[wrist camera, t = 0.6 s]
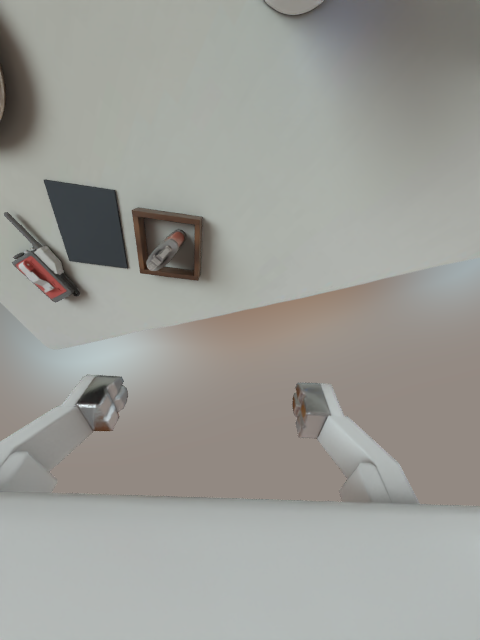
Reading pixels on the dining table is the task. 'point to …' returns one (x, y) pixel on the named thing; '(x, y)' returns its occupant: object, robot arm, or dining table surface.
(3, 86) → the plant saucer
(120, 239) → the mat
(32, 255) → the walkie-talkie
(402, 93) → the dining table surface
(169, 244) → the lighter
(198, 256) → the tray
